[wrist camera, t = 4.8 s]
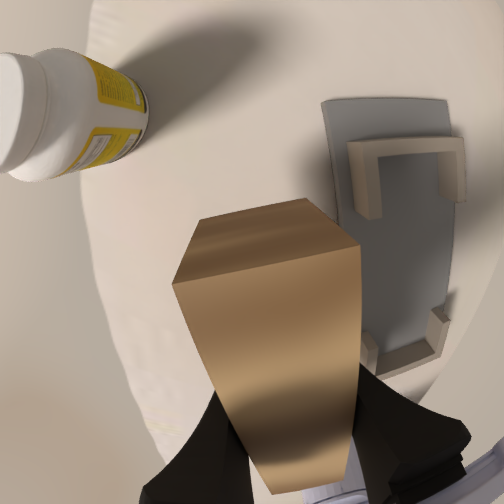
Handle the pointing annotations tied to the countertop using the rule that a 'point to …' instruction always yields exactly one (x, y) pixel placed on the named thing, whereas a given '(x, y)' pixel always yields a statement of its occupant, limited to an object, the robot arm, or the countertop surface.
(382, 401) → the robot arm
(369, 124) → the cap board
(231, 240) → the oak slat
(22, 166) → the supplement bottle
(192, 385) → the countertop surface
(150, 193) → the countertop surface
